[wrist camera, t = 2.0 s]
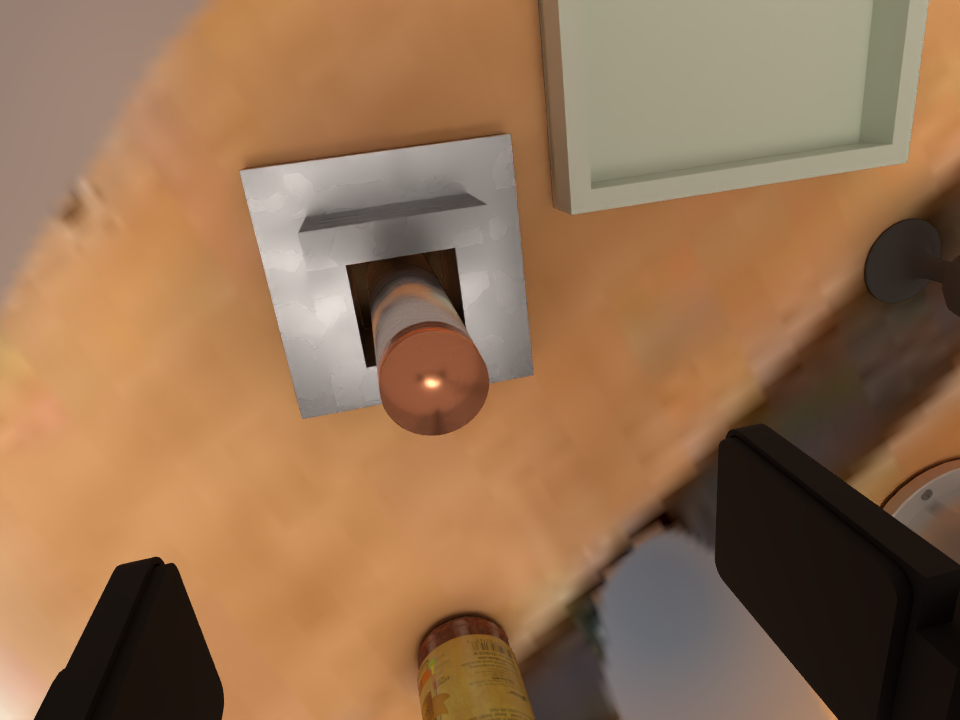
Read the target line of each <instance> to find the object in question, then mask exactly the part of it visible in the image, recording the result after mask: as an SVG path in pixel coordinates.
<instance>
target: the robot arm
mask: <svg viewBox="0 0 960 720" xmlns="http://www.w3.org/2000/svg"><path fill="white" fill-rule="evenodd" d="M715 563H716V567H717V570H718V573H719V575H720V577H721V578H722V579H723V581H724V582H725V583H726V585H727V586H728V587H729V588H730V590H731V591H732V592H733V593H734V594H735V596H736V597H737V598H738V599H739V600H740V601H741V603H742V604H743V605H744V606H745V608H746V609H747V610H748V611H749V612H750V614H751V615H752V616H753V617H754V618H755V620H756V621H757V622H758V623H759V624H760V626H761V627H762V628H763V629H764V630H765V632H766V633H767V634H768V635H769V637H770V638H771V639H772V640H773V641H774V643H775V644H776V645H777V646H778V647H779V649H780V650H781V651H782V652H783V653H784V655H785V656H786V657H787V658H788V659H789V661H790V662H791V663H792V664H793V665H794V667H795V668H796V669H797V670H798V671H799V673H800V674H801V675H802V676H803V677H804V679H805V680H806V681H807V682H808V683H809V685H810V686H811V687H812V688H813V690H814V691H815V692H816V693H817V694H818V696H819V697H820V698H821V699H822V700H823V702H824V703H825V704H826V705H827V706H828V708H829V709H830V710H831V711H832V712H833V714H834V715H835V716H836V717H837V718H838V720H960V459H959V460H955V461H950V462H946V463H944V464H941V465H939V466H936V467H934V468H931V469H929V470H928V471H926V472H924V473H922V474H921V475H919V476H917V477H916V478H914V479H913V480H912V481H910V482H909V483H908V484H906V485H905V486H904V487H903V488H901V489H900V490H899V491H898V492H897V493H896V494H895V495H894V496H893V497H892V498H891V499H890V500H889V501H888V502H887V504H886V505H885V506H884V508H883V509H882V508H880V507H879V506H878V505H876V504H875V503H873V502H872V501H871V500H869V499H868V498H866V497H865V496H864V495H862V494H861V493H859V492H858V491H857V490H855V489H854V488H853V487H851V486H850V485H848V484H847V483H846V482H844V481H843V480H841V479H840V478H839V477H837V476H836V475H834V474H833V473H832V472H830V471H829V470H827V469H826V468H825V467H823V466H822V465H821V464H819V463H818V462H816V461H815V460H814V459H812V458H811V457H809V456H808V455H807V454H805V453H804V452H802V451H801V450H800V449H798V448H797V447H796V446H794V445H793V444H791V443H790V442H789V441H787V440H786V439H784V438H783V437H782V436H780V435H779V434H777V433H776V432H775V431H773V430H772V429H770V428H769V427H768V426H766V425H764V424H755V425H750V426H746V427H741V428H737V429H732V430H730V431H729V432H728V433H727V435H726V439H725V440H722V441H721V442H720V444H719V454H718V484H717V513H716V542H715ZM223 708H224V693H223V687H222V684H221V681H220V678H219V676H218V673H217V670H216V668H215V665H214V662H213V660H212V657H211V655H210V652H209V649H208V647H207V644H206V642H205V639H204V636H203V634H202V631H201V628H200V626H199V623H198V621H197V618H196V615H195V613H194V610H193V607H192V605H191V602H190V600H189V597H188V594H187V592H186V589H185V586H184V584H183V581H182V579H181V576H180V573H179V571H178V569H177V567H176V565H175V564H174V563H169V564H164V562H163V560H162V559H161V558H159V557H153V558H148V559H144V560H139V561H135V562H130V563H126V564H121V565H119V566H117V567H116V568H115V570H114V571H113V573H112V575H111V577H110V579H109V581H108V583H107V585H106V587H105V589H104V591H103V593H102V595H101V597H100V599H99V601H98V603H97V605H96V607H95V609H94V611H93V614H92V616H91V618H90V620H89V622H88V624H87V626H86V628H85V630H84V632H83V634H82V636H81V638H80V640H79V642H78V644H77V646H76V648H75V650H74V652H73V654H72V656H71V658H70V660H69V662H68V664H67V666H66V668H65V669H63V670H62V671H61V672H59V674H58V675H57V677H56V678H55V680H54V681H53V683H52V685H51V687H50V689H49V691H48V693H47V695H46V697H45V698H44V700H43V702H42V704H41V706H40V708H39V710H38V712H37V714H36V716H35V718H34V720H222V714H223Z"/></svg>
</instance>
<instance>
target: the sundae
mask: <svg viewBox="0 0 960 720" xmlns="http://www.w3.org/2000/svg"><path fill="white" fill-rule="evenodd" d="M940 254H941V241H940V237H939V234H938V232H937V230H936V229H935V228H934V227H933V226H932V225H931V224H930V223H928V222H927V221H924V220H921V219H908V220H904V221H901V222H898V223H896V224H895V225H893V226H892V227H890V228H889V229H888V230H886V231H885V232H884V233H883V234H882V235H881V236H880V237H879V239H878V240H877V241H876V243H875V244H874V245H873V247H872V249H871V251H870V253H869V256H868V259H867V262H866V269H865V280H866V283H867V286H868V288H869V290H870V292H871V294H872V295H874V296H875V297H876V298H877V299H879V300H880V301H884V302H890V303H895V302H900V301H903V300H906V299H909V298H910V297H912V296H914V295H916V294H917V293H918V292H920V291H921V290H922V289H923V288H924V287H925V286H926V285H927V284H928V283H929V281H930V280H933V281H937V282H940V283H943V284H942V290H943V294H944V298H945V301H946V305H947V307H948V309H949V310H951V311H952V312H953V313H954V314H956V315H957V316H959V317H960V256H958V257H956V258H955V259H954V260H953V262H949V261H945V260H941V259H940Z"/></svg>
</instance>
